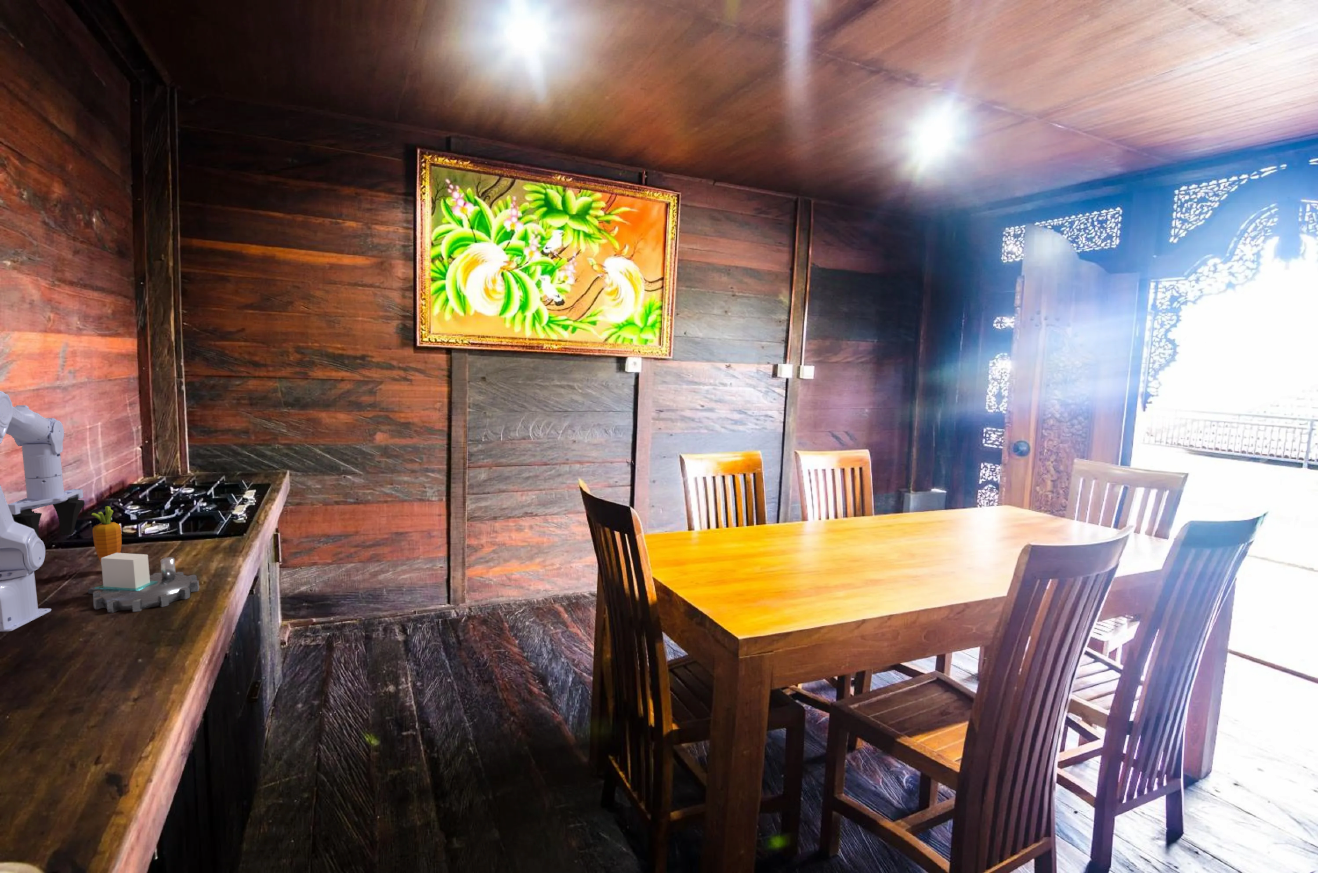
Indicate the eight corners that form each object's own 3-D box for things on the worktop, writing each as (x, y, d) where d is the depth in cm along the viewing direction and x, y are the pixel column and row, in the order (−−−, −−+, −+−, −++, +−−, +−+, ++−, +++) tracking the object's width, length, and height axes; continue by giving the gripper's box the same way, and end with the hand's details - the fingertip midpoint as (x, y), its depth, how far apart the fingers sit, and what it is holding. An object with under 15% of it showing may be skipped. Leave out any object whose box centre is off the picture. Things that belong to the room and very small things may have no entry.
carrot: (108, 577, 148) (102, 511, 146) (90, 575, 149) (84, 509, 147) (130, 570, 153) (125, 505, 151) (112, 567, 154) (106, 504, 152)
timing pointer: (107, 593, 140) (107, 587, 139) (101, 595, 138) (101, 590, 138) (94, 592, 140) (93, 586, 140) (88, 594, 138) (87, 589, 138)
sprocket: (99, 620, 126) (96, 589, 125) (88, 594, 138) (85, 566, 137) (208, 597, 138) (206, 569, 137) (189, 575, 150) (187, 549, 149)
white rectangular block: (149, 582, 140) (147, 554, 139) (135, 588, 136) (133, 560, 135) (118, 580, 140) (116, 552, 139) (103, 586, 137) (100, 558, 136)
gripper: (26, 484, 131) (33, 551, 133) (93, 470, 145) (99, 530, 147) (-7, 482, 131) (0, 549, 133) (63, 468, 146) (69, 529, 148)
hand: (50, 539), depth 140 cm, fingers open, 7 cm apart
